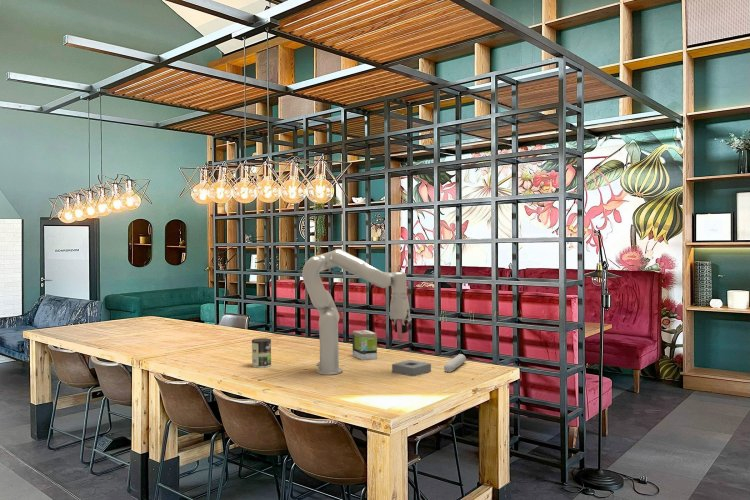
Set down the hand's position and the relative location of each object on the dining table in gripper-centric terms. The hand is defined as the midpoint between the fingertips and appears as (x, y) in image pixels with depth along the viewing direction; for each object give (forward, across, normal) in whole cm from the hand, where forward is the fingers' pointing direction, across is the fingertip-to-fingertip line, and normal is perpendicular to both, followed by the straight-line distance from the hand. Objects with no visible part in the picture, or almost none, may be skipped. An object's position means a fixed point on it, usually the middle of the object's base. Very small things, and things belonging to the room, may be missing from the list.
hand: (401, 332), depth 292 cm
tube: (+22, +14, +25) cm, 36 cm away
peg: (+3, 0, 0) cm, 3 cm away
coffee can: (+18, -68, -38) cm, 80 cm away
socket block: (+20, +3, +3) cm, 21 cm away
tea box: (+20, -41, +14) cm, 47 cm away
